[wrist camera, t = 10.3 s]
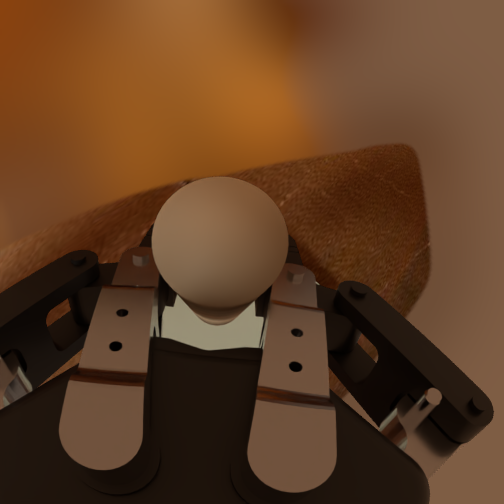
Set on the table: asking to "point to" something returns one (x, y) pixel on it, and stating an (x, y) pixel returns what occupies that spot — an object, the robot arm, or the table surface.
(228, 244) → the beech pin
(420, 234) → the table surface
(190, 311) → the sage tray
